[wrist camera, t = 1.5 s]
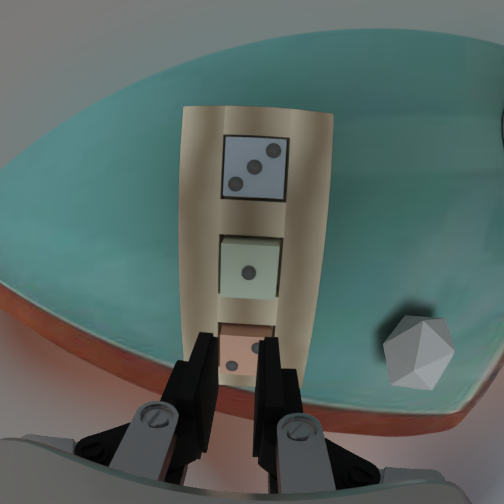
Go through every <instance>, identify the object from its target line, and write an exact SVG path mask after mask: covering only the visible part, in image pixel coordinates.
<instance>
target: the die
mask: <svg viewBox="0 0 504 504" xmlns="http://www.w3.org/2000/svg"><path fill="white" fill-rule="evenodd" d="M383 347H384V353H385V358H386V364H387V370H388V376H389V382H390V385H395V386H401V387H409V388H416V389H424V390H433V388H434V386H435V385H436V383H437V382H438V380H439V378H440V377H441V375H442V373H443V372H444V370H445V368H446V367H447V365H448V363H449V361H450V360H451V358H452V356H453V354H454V352H455V350H454V346H453V342H452V339H451V335H450V332H449V329H448V326H447V322H446V319H445V318H435V317H422V316H410V315H405V316H404V317H403V318H402V320H401V321H400V322H399V324H398V325H397V326H396V328H395V329H394V330H393V332H392V333H391V334H390V336H389V337H388V338H387V339H386V341H385V342H384V343H383Z"/></svg>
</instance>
